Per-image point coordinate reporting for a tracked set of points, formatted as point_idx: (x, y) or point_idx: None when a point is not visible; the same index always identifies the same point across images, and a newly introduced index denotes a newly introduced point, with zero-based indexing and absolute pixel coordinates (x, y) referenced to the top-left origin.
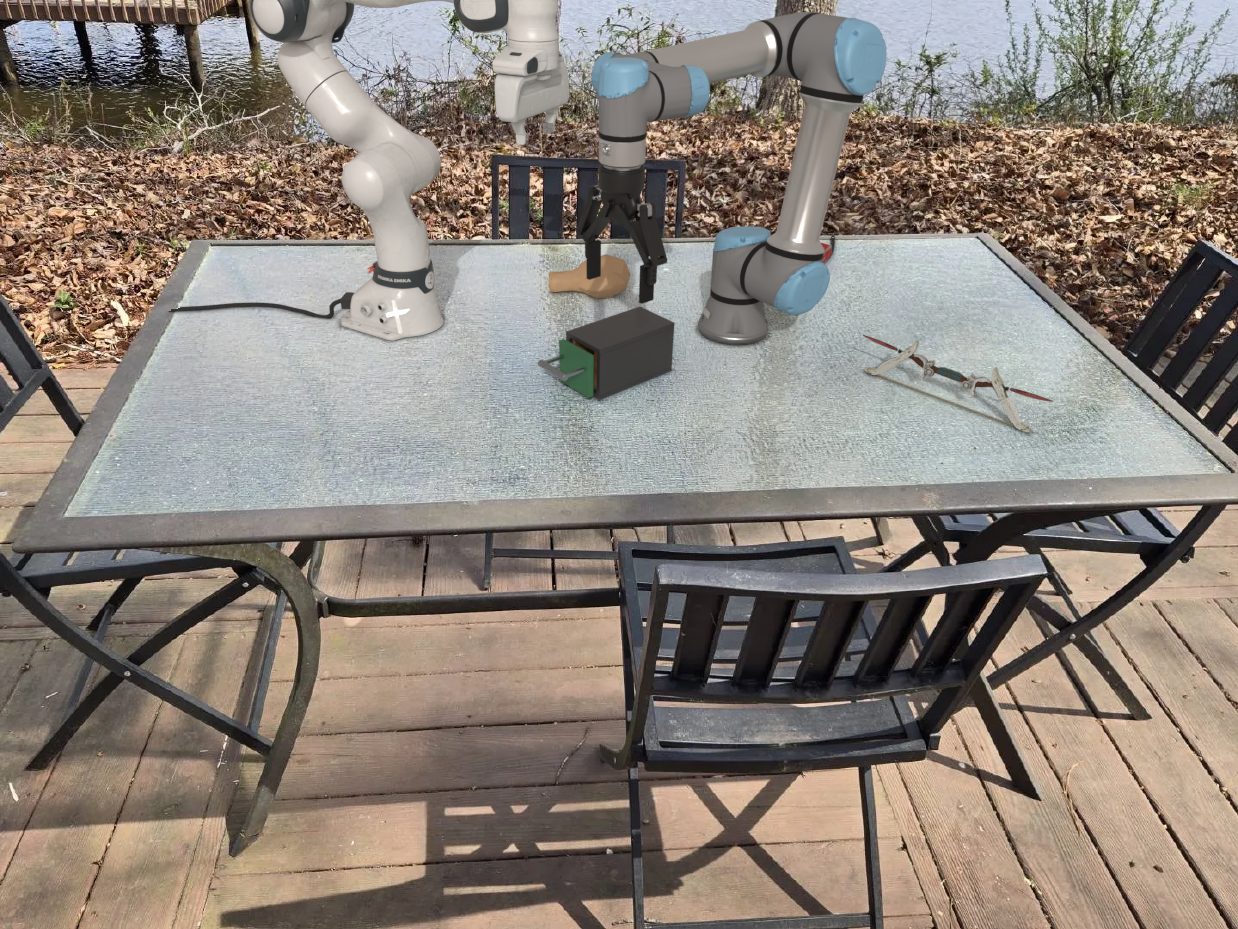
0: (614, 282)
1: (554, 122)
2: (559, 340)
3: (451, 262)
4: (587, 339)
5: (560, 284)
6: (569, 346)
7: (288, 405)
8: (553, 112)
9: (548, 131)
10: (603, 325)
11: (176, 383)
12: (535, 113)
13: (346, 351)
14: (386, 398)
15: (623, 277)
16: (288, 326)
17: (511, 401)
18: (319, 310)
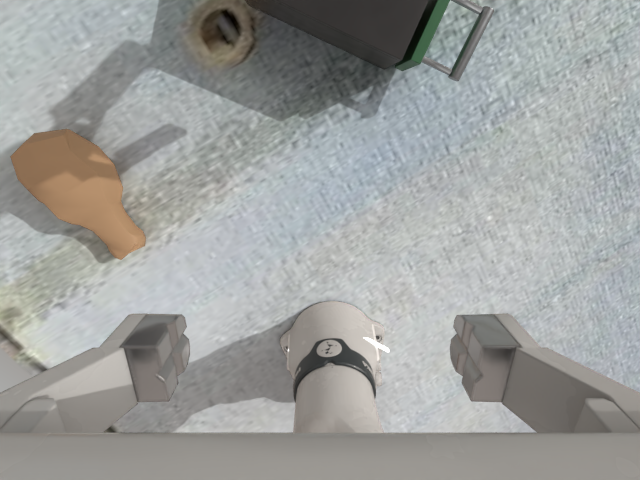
0: (85, 142)
1: (99, 348)
2: (420, 62)
3: None
4: (417, 1)
5: (133, 229)
6: (434, 33)
7: (557, 324)
8: (57, 410)
9: (181, 331)
10: (347, 4)
11: None
12: (506, 441)
13: (426, 349)
14: (512, 250)
15: (62, 132)
16: (399, 426)
17: (469, 110)
18: None
